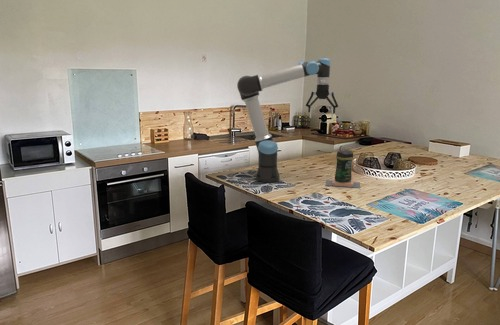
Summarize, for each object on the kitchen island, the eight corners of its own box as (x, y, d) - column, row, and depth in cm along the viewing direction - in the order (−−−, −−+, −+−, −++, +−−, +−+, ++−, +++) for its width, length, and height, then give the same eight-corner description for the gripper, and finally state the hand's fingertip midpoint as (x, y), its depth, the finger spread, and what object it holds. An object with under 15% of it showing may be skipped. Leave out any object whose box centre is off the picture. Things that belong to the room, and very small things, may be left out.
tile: (333, 179, 235) (332, 185, 224) (333, 177, 235) (332, 182, 224) (353, 181, 232) (353, 187, 221) (353, 178, 232) (353, 184, 221)
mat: (325, 185, 225) (325, 185, 225) (326, 180, 235) (326, 180, 235) (360, 188, 220) (360, 187, 220) (359, 183, 230) (359, 182, 230)
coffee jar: (341, 183, 222) (343, 152, 217) (332, 180, 229) (334, 150, 224) (353, 181, 226) (356, 150, 222) (344, 178, 233) (346, 148, 229)
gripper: (302, 84, 237) (301, 117, 242) (343, 84, 231) (341, 119, 236) (303, 83, 244) (302, 116, 249) (343, 84, 238) (341, 117, 243)
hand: (321, 118), depth 243 cm, fingers open, 13 cm apart
